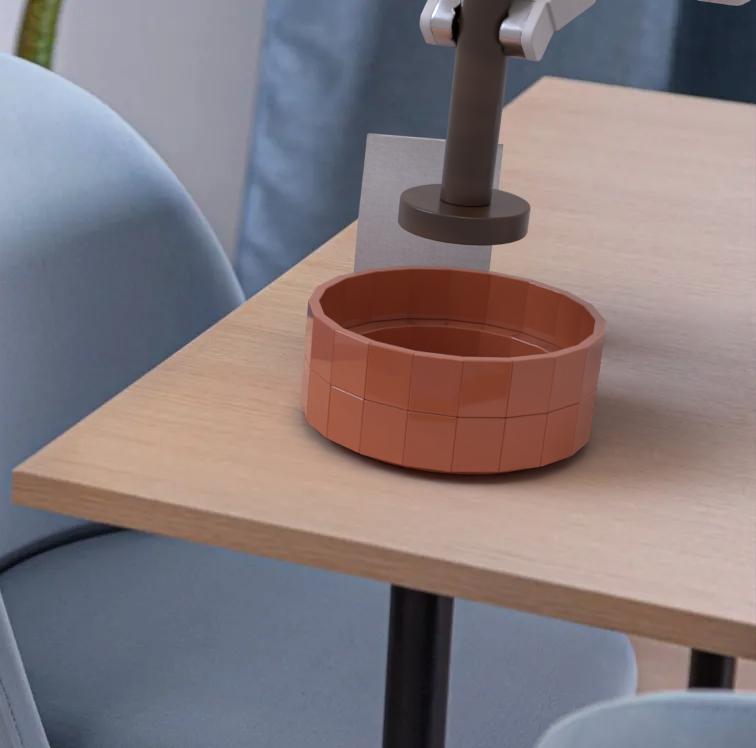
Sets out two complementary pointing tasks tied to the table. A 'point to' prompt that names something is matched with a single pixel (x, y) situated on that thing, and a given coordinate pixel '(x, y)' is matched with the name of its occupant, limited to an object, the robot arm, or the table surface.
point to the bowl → (451, 368)
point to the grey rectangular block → (381, 206)
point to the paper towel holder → (471, 145)
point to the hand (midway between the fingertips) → (478, 43)
